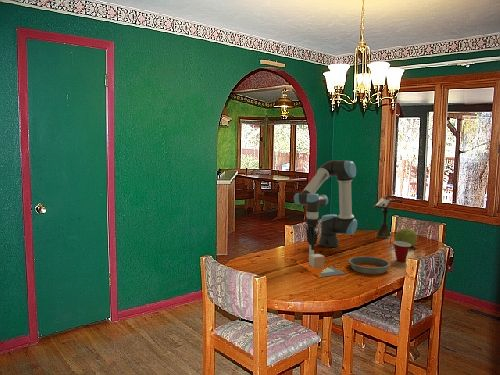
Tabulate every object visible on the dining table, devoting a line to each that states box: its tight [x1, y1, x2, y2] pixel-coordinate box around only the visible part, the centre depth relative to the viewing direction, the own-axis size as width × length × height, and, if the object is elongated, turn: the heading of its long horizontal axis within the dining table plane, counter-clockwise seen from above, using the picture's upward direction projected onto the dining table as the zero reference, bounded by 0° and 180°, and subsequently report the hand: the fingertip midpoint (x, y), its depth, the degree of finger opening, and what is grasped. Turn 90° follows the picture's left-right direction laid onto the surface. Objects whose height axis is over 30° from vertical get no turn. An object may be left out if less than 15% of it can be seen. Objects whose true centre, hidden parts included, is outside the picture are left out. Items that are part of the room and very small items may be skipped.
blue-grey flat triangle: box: [318, 265, 346, 278], centre depth 264 cm, size 34×18×1 cm, turn 22°
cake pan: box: [348, 256, 390, 275], centre depth 262 cm, size 25×25×4 cm
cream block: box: [308, 253, 326, 268], centre depth 264 cm, size 7×7×7 cm
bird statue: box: [373, 194, 394, 239], centre depth 341 cm, size 17×13×35 cm
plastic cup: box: [393, 240, 411, 263], centre depth 278 cm, size 11×11×12 cm
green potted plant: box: [394, 227, 418, 248], centre depth 314 cm, size 16×14×15 cm
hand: (311, 254), depth 270 cm, fingers closed
